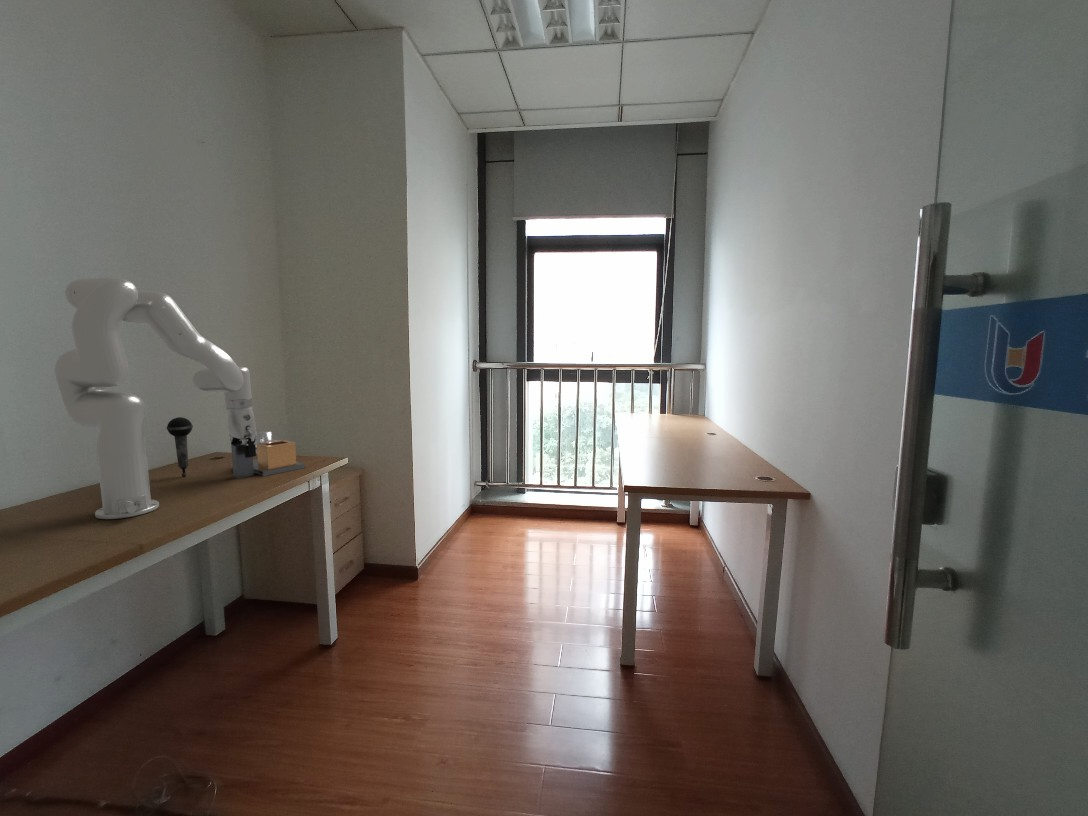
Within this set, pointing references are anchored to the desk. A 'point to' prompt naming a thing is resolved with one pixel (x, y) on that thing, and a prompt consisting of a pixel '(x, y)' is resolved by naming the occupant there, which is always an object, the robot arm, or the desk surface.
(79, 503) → the desk surface
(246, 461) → the grey rectangular block
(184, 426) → the microphone
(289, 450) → the orange slotted box
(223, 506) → the desk surface
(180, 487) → the desk surface
